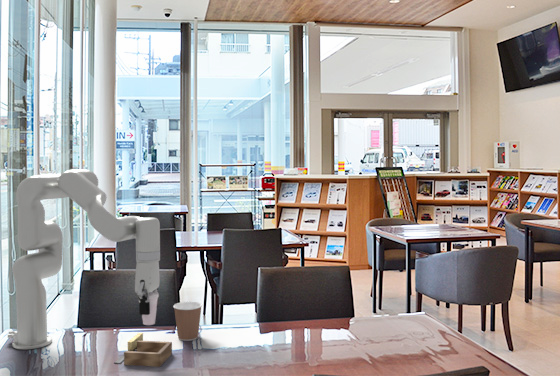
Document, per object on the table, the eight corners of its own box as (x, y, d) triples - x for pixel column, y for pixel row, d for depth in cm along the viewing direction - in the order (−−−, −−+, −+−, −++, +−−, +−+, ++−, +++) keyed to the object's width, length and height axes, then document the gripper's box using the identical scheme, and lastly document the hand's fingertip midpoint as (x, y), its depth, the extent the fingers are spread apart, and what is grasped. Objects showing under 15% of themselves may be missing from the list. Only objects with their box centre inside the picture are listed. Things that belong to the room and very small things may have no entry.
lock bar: (127, 350, 181) (127, 341, 180) (138, 341, 190) (138, 332, 190) (132, 350, 180) (131, 342, 180) (143, 341, 190) (142, 333, 190)
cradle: (113, 364, 170) (112, 351, 170) (138, 342, 190) (138, 331, 190) (159, 366, 168) (159, 354, 168) (180, 344, 188) (180, 333, 188)
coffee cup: (207, 334, 199) (207, 302, 199) (193, 343, 189) (193, 310, 189) (182, 332, 202) (182, 300, 202) (168, 340, 193) (167, 307, 192)
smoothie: (154, 327, 170) (153, 283, 169) (135, 325, 171) (134, 282, 171) (162, 321, 176) (161, 278, 176) (144, 319, 178) (143, 277, 177)
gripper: (147, 251, 182) (147, 304, 183) (125, 260, 165) (126, 318, 166) (168, 252, 181) (169, 304, 182) (149, 261, 164) (150, 319, 165)
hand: (148, 310), depth 174 cm, fingers closed on smoothie, 6 cm apart
